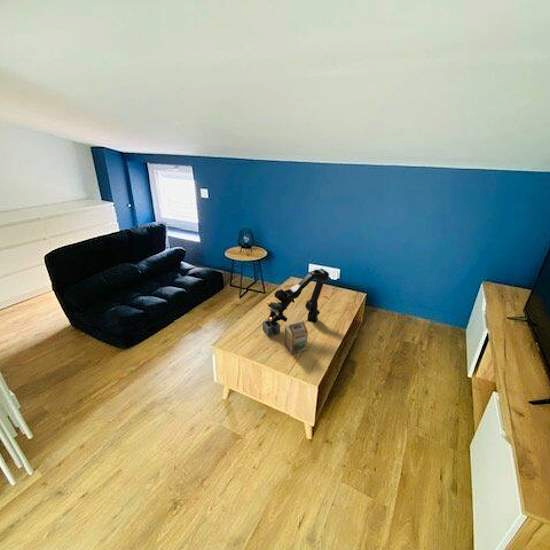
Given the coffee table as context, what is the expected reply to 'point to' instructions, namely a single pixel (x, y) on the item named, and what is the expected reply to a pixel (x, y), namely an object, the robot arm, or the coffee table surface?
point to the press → (271, 328)
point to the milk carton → (296, 337)
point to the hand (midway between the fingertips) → (269, 321)
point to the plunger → (270, 321)
